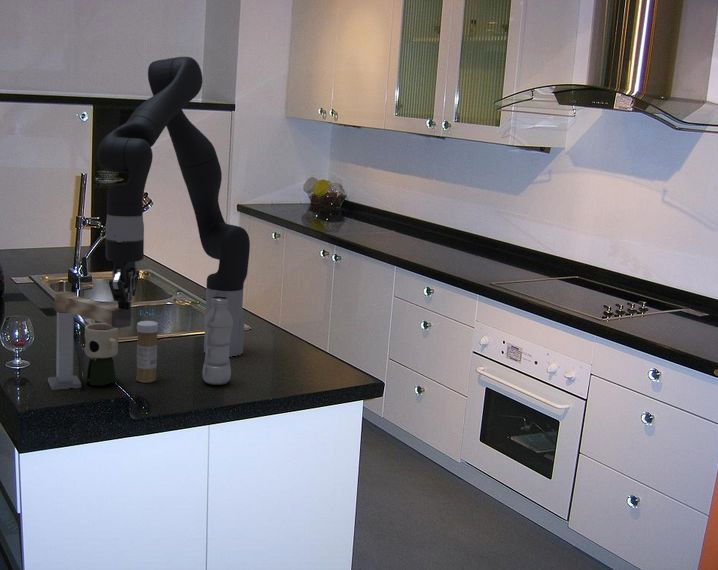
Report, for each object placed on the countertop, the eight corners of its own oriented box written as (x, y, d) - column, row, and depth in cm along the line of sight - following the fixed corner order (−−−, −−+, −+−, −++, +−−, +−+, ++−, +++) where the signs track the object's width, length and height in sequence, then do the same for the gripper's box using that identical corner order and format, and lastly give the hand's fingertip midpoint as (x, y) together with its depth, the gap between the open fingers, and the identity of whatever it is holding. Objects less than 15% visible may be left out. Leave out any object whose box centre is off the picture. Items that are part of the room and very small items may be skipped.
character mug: (73, 380, 192) (73, 323, 190) (101, 374, 197) (102, 319, 195) (99, 393, 185) (100, 334, 183) (128, 387, 190) (129, 329, 188)
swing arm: (50, 309, 185) (50, 293, 184) (67, 306, 188) (67, 290, 188) (115, 329, 173) (115, 312, 172) (133, 325, 176) (133, 309, 176)
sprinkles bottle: (149, 376, 199) (150, 319, 196) (160, 381, 196) (162, 323, 193) (131, 379, 196) (133, 321, 193) (143, 384, 193) (144, 326, 190)
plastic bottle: (205, 388, 193) (209, 301, 189) (198, 379, 199) (202, 294, 195) (233, 387, 196) (238, 300, 192) (226, 378, 202) (230, 294, 198)
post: (76, 379, 193) (77, 307, 190) (81, 387, 187) (82, 313, 184) (48, 381, 190) (48, 308, 187) (52, 390, 185) (52, 314, 182)
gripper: (117, 231, 183) (116, 310, 186) (95, 240, 170) (95, 325, 174) (152, 233, 183) (151, 313, 186) (133, 242, 170) (132, 328, 173)
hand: (124, 319), depth 180 cm, fingers closed
